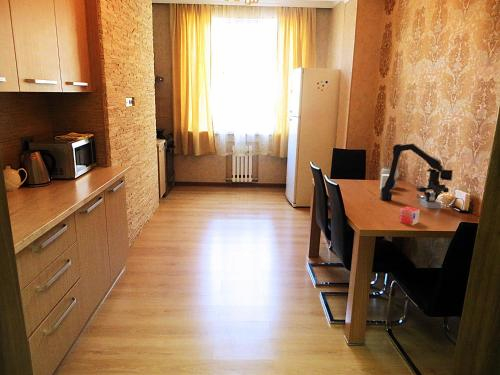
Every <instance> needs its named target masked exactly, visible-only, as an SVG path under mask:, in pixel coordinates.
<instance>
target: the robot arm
mask: <svg viewBox="0 0 500 375" xmlns="http://www.w3.org/2000/svg"><path fill="white" fill-rule="evenodd" d="M404 151H412V152H413V153H415V154H416V155H417V156H419V157H420V158H422V160H424V161H425V162H426V163H427V164H428V166H429V168H428V169H427V170H426V172H429V178H428V179H427V181H428V184H427V185H426V186H424V185H417V187H416V191H418V193H424V196H425V197H426V200H427V202H428V201H429V194H430V192H435V193H436V195H435V200H434V202H435V201H437V199H438V197H439V196H440V195H441V194H443V193H449V192H450V191H449V190H450V189H449V187H447V186H446V184H440V179H441V181H452V180H453V175H454V174H453V172H454V171H453V169H445V168H444V167H443V165H442V161H441V160H440V159H438V158H436V157H435V156H432V155H430V154H428V153H427V152H426V151H424V150H423V149H421V148H420V147H419V146H417V145H416V144H415V143H408V144H406V143H405V144H403V143H396V144H394V145H393V147H392V156H393V157H392V160H391V165H390V168H391V169H390V174H389V177H388V179H387V181H386V183H385V186H384V187H383V188H381V190H380V197H379V199H380V200H381V201H386V202H387V201H390V202H391V201H392V197H393V196H392V195H393V193H392V189H395V188H396V187H397V182H398V179H396V178H395V176H396V171H397V169H398V168H399V167H398V166H399V161H400V158H401V156H402V154H403V152H404ZM395 186H396V187H395ZM394 187H395V188H394Z"/></svg>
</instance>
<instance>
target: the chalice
mask: <svg viewBox="0 0 500 375" xmlns="http://www.w3.org/2000/svg"><path fill="white" fill-rule="evenodd" d="M390 169H391V167H387V166H386V167H383V168H382V169H381V170H380V175H381V174H390ZM399 176H400V171H399V169H398V168H397V171H396V176H395V179H397V178H398V177H399ZM395 188H397V185H396V186H395V187H394V188H393V189H395Z"/></svg>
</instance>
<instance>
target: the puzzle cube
mask: <svg viewBox="0 0 500 375" xmlns="http://www.w3.org/2000/svg"><path fill="white" fill-rule="evenodd" d="M420 211H421V208H415V207H412V206H404V207H401V208H399V216H398V223H402V224H406V225H409V226H413V225H416V224H418V223H419V219H420Z"/></svg>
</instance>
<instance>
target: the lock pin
mask: <svg viewBox="0 0 500 375" xmlns="http://www.w3.org/2000/svg"><path fill="white" fill-rule="evenodd" d="M422 193H423V192H416V195H415V198H417V199H418V198H419V196H422V197H424V196H425V195H422ZM424 199H426V197H424Z"/></svg>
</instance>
